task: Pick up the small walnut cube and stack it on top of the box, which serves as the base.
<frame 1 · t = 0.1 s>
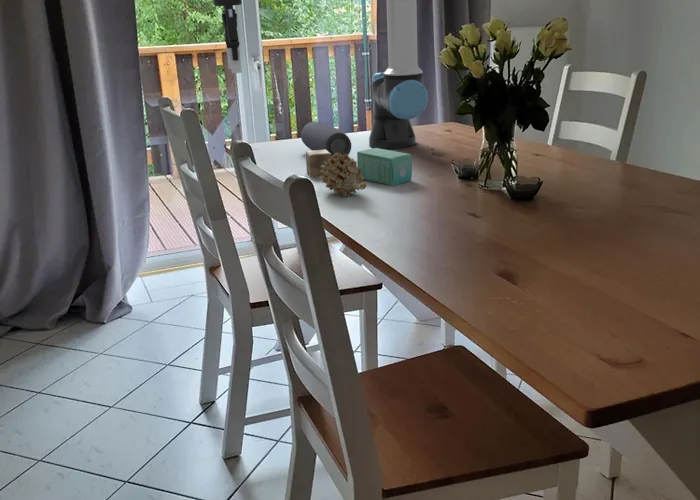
hand: (235, 71, 196), 28 cm above the table, fingers open, 13 cm apart
box: (384, 180, 185), on the table
walnut cube: (319, 174, 194), on the table
bluetooth speaker: (326, 158, 214), on the table
pine cone: (349, 197, 170), on the table
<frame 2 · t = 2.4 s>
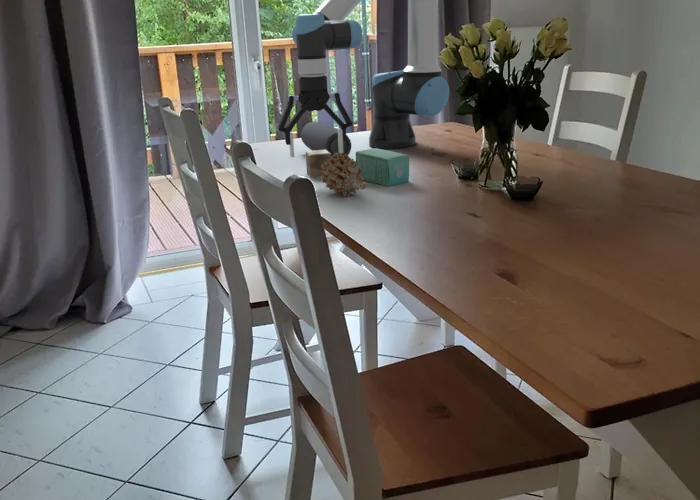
hand: (316, 154, 192), 5 cm above the table, fingers open, 13 cm apart
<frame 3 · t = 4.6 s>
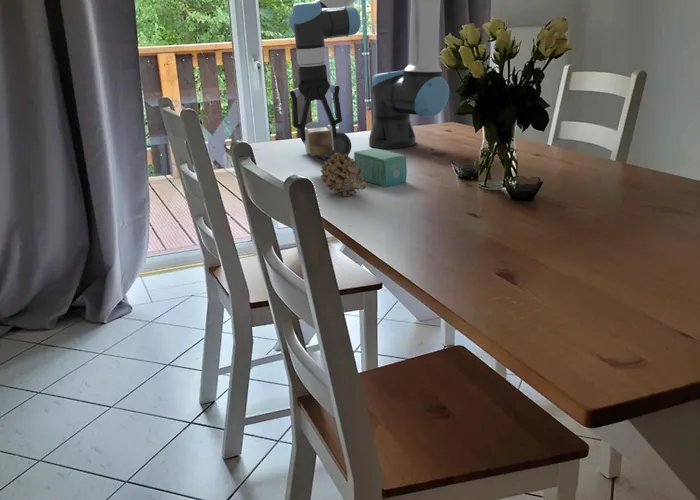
hand: (319, 150, 193), 6 cm above the table, fingers closed on walnut cube, 6 cm apart
walnut cube: (319, 152, 193), point 6 cm above the table, touching gripper
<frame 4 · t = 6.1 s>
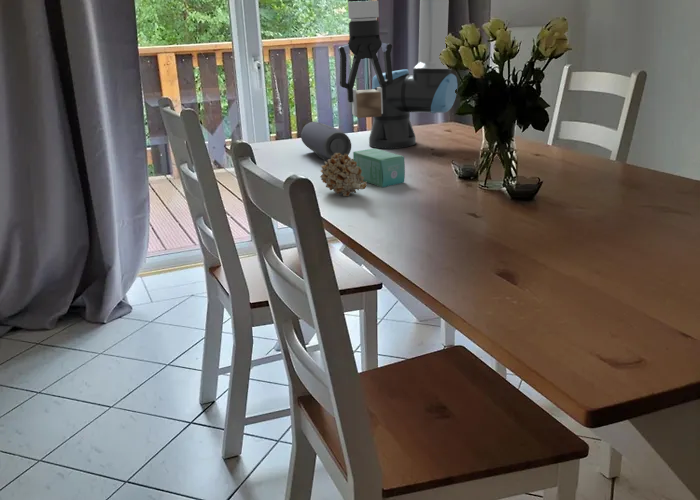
hand: (367, 113, 180), 17 cm above the table, fingers closed on walnut cube, 6 cm apart
walnut cube: (367, 115, 180), point 17 cm above the table, touching gripper
when the fingers open (10 cm above the table, at t = 8.0 s): walnut cube drops 2 cm, resting on box.
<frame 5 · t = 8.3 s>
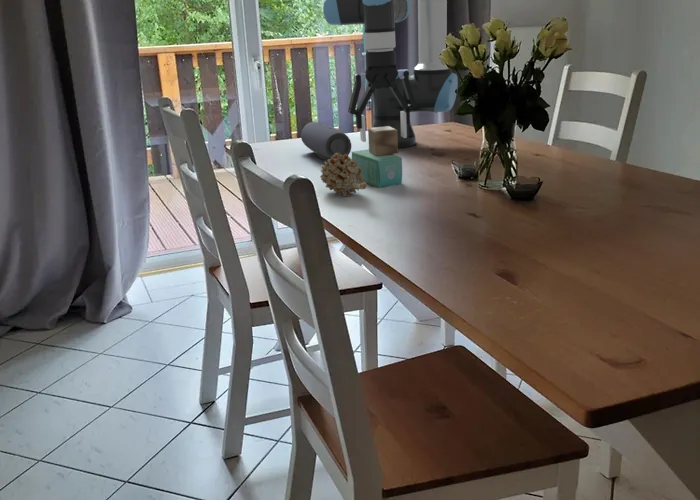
hand: (383, 138, 181), 11 cm above the table, fingers open, 10 cm apart
box: (377, 182, 184), on the table, touching walnut cube
walnut cube: (383, 152, 182), point 7 cm above the table, touching box
everything else where it was.
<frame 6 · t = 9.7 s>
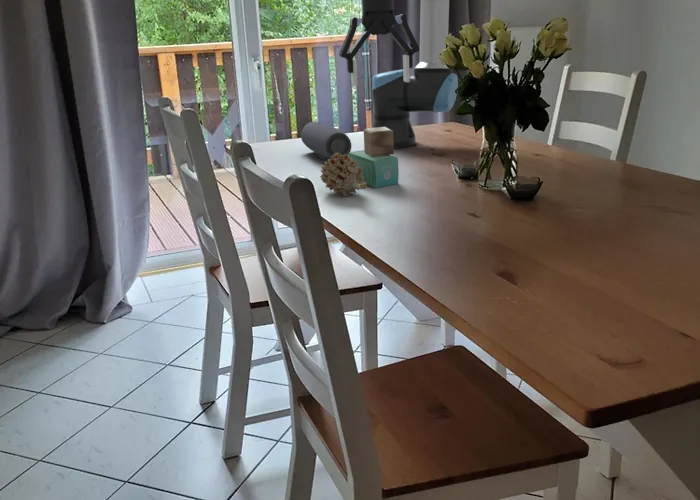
hand: (380, 84, 177), 25 cm above the table, fingers open, 13 cm apart
walnut cube: (379, 153, 181), point 7 cm above the table, touching box
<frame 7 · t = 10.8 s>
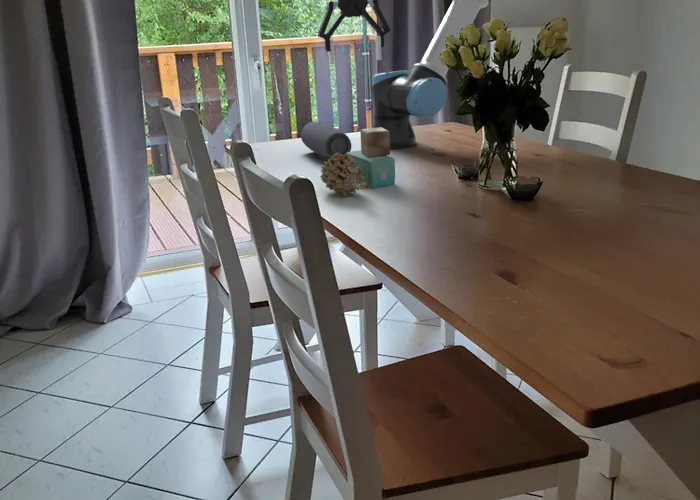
hand: (355, 61, 196), 29 cm above the table, fingers open, 13 cm apart
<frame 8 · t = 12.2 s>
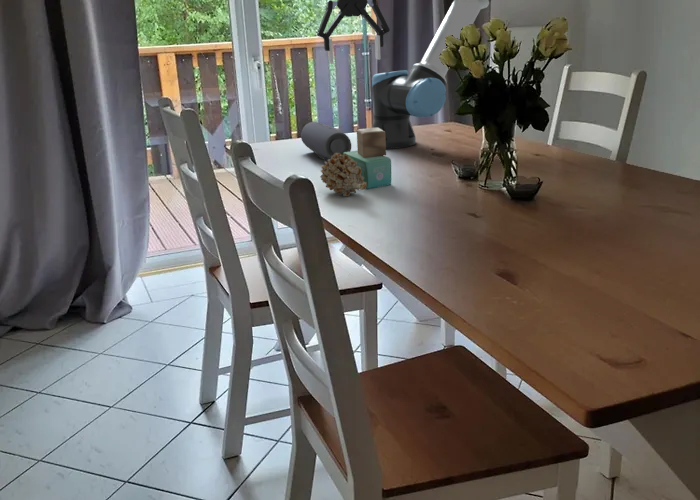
hand: (354, 61, 197), 29 cm above the table, fingers open, 13 cm apart
walnut cube: (371, 154, 181), point 7 cm above the table, touching box
at the end: walnut cube 1.5 cm from the box (horizontally); walnut cube point 7.3 cm above the table; walnut cube tilted 0° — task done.
